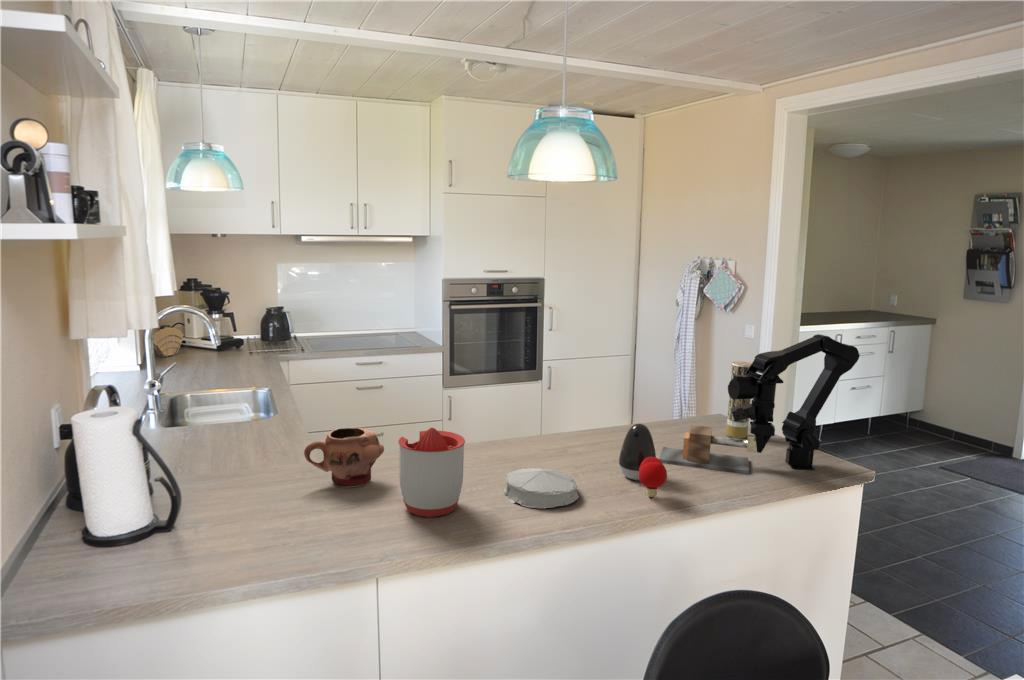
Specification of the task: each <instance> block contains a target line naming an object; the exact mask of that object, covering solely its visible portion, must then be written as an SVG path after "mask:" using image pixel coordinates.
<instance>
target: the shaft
mask: <svg viewBox="0 0 1024 680" xmlns="http://www.w3.org/2000/svg"><path fill="white" fill-rule="evenodd" d="M711 444H712V445H718V446H727V447H735V448H742V449H746V452H747V453H753V454H759V453H758V452H757V446H756V436H748V435H747V439H746V438H743V439H737V438H732V437H729V436H727V437H726V436H719V435H718V436H717V435H711Z"/></svg>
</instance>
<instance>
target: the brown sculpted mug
mask: <svg viewBox="0 0 1024 680" xmlns="http://www.w3.org/2000/svg"><path fill="white" fill-rule="evenodd" d="M314 450H321V451H322V454H323V460H322V461H319V462H315V461H314V460H312V458H311V452H312V451H314ZM384 451H385V447H384V445H383V443H381V442H380V441H379V438H378V436H377V434H376V433H375V431H372V430H368V429H365V428H362V427H361V428H360V427H356V428H355V427H353V428H351V427H345V428H336V429H333V430H331V431H330V432H328V433H327V435H326V438H325V439H323V440H315V441H312V442H311V443H309V444H307V445H306V447H305V448H304V451H303V455H304V458H305V459H306V461H307V462H308V463H309V464H311V465H313V466H314V467H315V468H317V469H320V470H322V471H323V472H327V473H328V472H331V482H332V483H333V484H334V485H335V486H336V487H339V488H355V487H362V486H366V485H367V484H369V483H370V482H371V480H372V472H371V471H372V468H373V466H374V464H375V463H376V461H377V460H378V458H379V457H381V456H382V455H383V453H384Z"/></svg>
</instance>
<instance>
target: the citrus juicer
mask: <svg viewBox="0 0 1024 680" xmlns="http://www.w3.org/2000/svg"><path fill="white" fill-rule="evenodd" d="M465 444H466V440H465V438H464V437H463V435H460V434H458V433H455V432H451V431H445V430H437V429H436V428H434V427H430V428H429V429H427V430H422V431H419V440H418V441H415V442H413V443H409V439H408V438H406V437H404V436H401V437H399V439H398V445H399V466H398V467H399V472H398V473H399V474H398V475H399V485H400V486H399V487H400V491H401V495H402V500H403V503H404V505H405V507H406V509H407V511H408V512H410V513H411V514H413V515H415V516H420V517H427V518H434V517H441V516H445V515H448V514H449V513H452V512H454V510H455V508H456V507H457V505H458V503H459V499H460V495H461V492H462V488H463V481H464V458H465V457H464V456H465V453H464V451H465Z"/></svg>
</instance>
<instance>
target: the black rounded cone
mask: <svg viewBox="0 0 1024 680" xmlns="http://www.w3.org/2000/svg"><path fill="white" fill-rule="evenodd" d="M647 457H656V458H657V454H656V449H655V443H654V438H653V436H652V433H651V431H650V429H649V427H648V426H647V425H645V424H643V423H635V424H633V425H632V426H630V428H629V429H628V430H627V432H626V434H625V437H624V438H623V442H622V445H621V448H620V452H619V456H618V465H619V469H620V471H621V474H623V476H625V477H626V478H628V479H630V480H633V481H640V480H639V468H640V465H641V463H642V462H643V460H644V459H645V458H647Z"/></svg>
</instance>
